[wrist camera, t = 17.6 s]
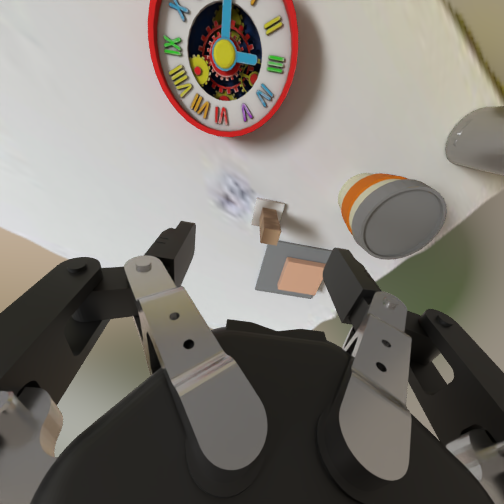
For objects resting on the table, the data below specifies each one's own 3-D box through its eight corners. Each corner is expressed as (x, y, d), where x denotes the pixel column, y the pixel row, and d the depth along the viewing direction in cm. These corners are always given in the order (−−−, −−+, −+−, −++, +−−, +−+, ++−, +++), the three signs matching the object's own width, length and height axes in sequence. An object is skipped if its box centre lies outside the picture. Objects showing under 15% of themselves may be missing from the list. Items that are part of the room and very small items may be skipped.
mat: (332, 250, 52) (333, 252, 51) (310, 297, 60) (310, 298, 60) (269, 238, 50) (269, 240, 50) (255, 288, 59) (255, 289, 58)
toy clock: (155, 126, 33) (136, -90, 23) (168, 125, 38) (157, -53, 28) (281, 146, 35) (318, -50, 24) (277, 142, 40) (307, -21, 29)
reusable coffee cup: (404, 186, 43) (466, 215, 31) (357, 232, 49) (393, 272, 36) (362, 149, 40) (412, 165, 27) (316, 203, 46) (340, 237, 33)
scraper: (284, 202, 46) (291, 225, 36) (277, 227, 49) (282, 253, 39) (257, 197, 45) (257, 218, 36) (251, 222, 48) (250, 248, 39)
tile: (286, 256, 52) (325, 263, 53) (277, 283, 57) (312, 289, 58) (288, 261, 50) (328, 268, 51) (278, 289, 55) (314, 295, 56)
